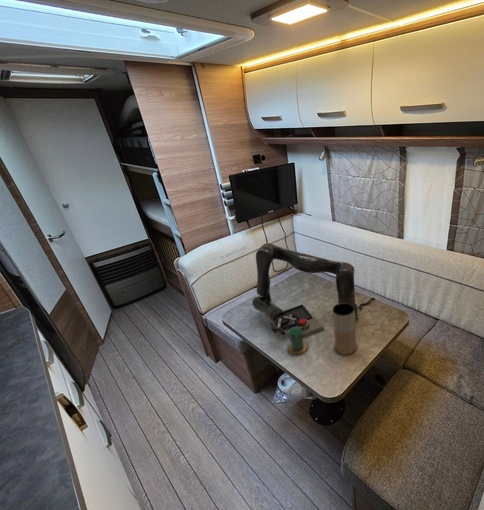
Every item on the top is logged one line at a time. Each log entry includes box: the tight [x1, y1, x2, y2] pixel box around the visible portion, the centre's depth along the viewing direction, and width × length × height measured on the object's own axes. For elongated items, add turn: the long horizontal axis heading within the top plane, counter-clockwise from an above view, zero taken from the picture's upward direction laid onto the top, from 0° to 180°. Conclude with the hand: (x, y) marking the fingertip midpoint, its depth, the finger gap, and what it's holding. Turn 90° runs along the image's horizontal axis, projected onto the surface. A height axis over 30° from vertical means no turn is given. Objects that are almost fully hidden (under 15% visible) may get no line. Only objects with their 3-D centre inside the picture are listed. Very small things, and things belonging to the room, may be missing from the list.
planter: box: [332, 303, 357, 355], centre depth 131 cm, size 10×10×23 cm
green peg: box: [288, 326, 304, 351], centre depth 134 cm, size 6×6×10 cm
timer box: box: [296, 317, 324, 338], centre depth 149 cm, size 12×10×4 cm
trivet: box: [288, 340, 308, 356], centre depth 137 cm, size 9×9×1 cm
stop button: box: [299, 319, 306, 325], centre depth 148 cm, size 4×4×2 cm
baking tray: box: [282, 304, 313, 331], centre depth 159 cm, size 17×14×2 cm
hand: (291, 329), depth 136 cm, fingers open, 8 cm apart
